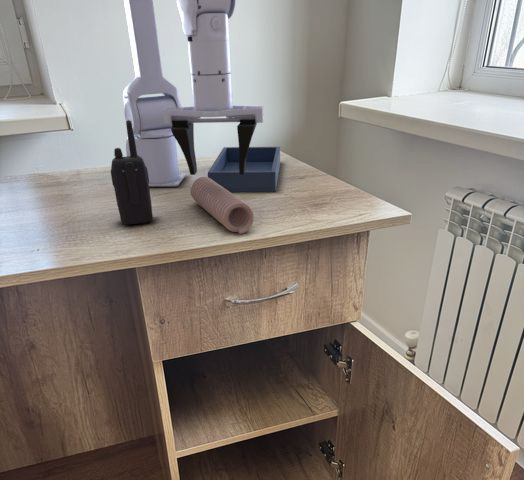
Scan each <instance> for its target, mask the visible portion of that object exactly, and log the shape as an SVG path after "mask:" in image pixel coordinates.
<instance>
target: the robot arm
mask: <svg viewBox="0 0 524 480" xmlns="http://www.w3.org/2000/svg"><path fill="white" fill-rule="evenodd" d="M123 4H124V9H125V15H126V24H127V29H128V36H129V43H130V47H131V48H130V49H131V55H132V61H133V67H134V74H135V77H134V78H133V79H131V81H130V82H129V83H128V84H127V86H126V87H125V88H124V90H123V94H122V97H123V114H124V119H125V122H126V121H128V120H130V121H131V123H132V128H133V133H134V138H135V144H136V150H137V155H138V156H140V157H141V158H142V159H143V161H144V163H145V166H146V167H147V171H148V177H149V188H151V187H179V185H180V184H181V183H182V181H183V180H184V179H185V178H186V174H185V173H180V165H179V156H178V146H179V147H180V149H181V152H182V154H183V156H184V158H185V161H186V164H187V167H188V170H189V171H188V172H189V175H191V176H196V174H197V172H198V165H197V157H196V151H195V150H196V149H195V136H194V135H195V134H194V133H195V131H194V124H203V123H204V124H205V123H207V124H209V123H238V124H237V126H236V128H237V129H236V130H237V138H238V139H237V141H238V147H239V173H240V175H243V174H245V166H246V158H247V153H248V149H249V147H250V146H251V142H252V138H253V136H254V133H255V130H256V128H257V124H263V122H264V120H265V119H264V118H265V117H264V106H262V105H261V106H260V105H259V106H252V105H250V106H249V105H234V102H233V83H232V63H231V60H232V59H231V43H230V21H229V20H230V19H231V18H232V16H233V14H234V11H235V7H236V0H176V6H177V9H178V13H179V15H180V19H181V27H182V31H183V35H184V36H186V39H187V47H188V48H187V49H188V59H189V60H188V61H189V73H190V83H191V92H192V105H193V106H182V104H181V102H180V98H179V92H178V89H177V87H176V86H175V85H174V84H173V83H171V81H169V80H168V79H166V78H165V77H164V75H163V68H162V61H161V52H160V44H159V38H158V30H157V22H156V14H155V8H154V7H155V6H154V0H123ZM157 94H158V95H157ZM159 94H162V95H159ZM146 95H147V96H146ZM148 95H154V96H148ZM155 95H157V96H155ZM141 96H146V97H141ZM177 144H178V146H177ZM125 153H126V157H127V156H130V149H129V142H128V137H127V138H126V141H125Z"/></svg>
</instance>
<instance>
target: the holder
mask: <svg viewBox="0 0 524 480" xmlns="http://www.w3.org/2000/svg"><path fill="white" fill-rule="evenodd" d="M280 167H281V146H249V149H248V153H247V158H246V166H245V174H243V175H240V173H239V146H227V147H226V146H224V147H222V149H221V151H220V152H219V154H218V155H217V157H216V158H215V160H214V162H213V164H212V165H211V166H210V168H209V170H208V171H207V177H208V178H210V179H212V180H213V181H215V182H216V183H218V184H219V185H220V186H222V187H223V188H225V189H226V190H228V191H229V192H231V193H276V192H277V185H278V179H279V174H280Z"/></svg>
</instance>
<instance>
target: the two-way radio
mask: <svg viewBox="0 0 524 480" xmlns="http://www.w3.org/2000/svg"><path fill="white" fill-rule="evenodd" d="M125 125H126V134H127V138H128V142H129V149H130V156H127V155H126V156H124V155H123V151H122V148H120V147H116V148H114V150H113V151H114V154H113V156H114V157H113V159H112V160H111V165H110V166H111V168H110V175H111V177H110V178H111V183H112V187H113V189H114V194H115V200H116V205H117V209H118V213H119V218H120V219H119V220H120V222H121V224H123V225H126V226H129V225H137V224H145V223H150V222H151V221H153V218H154V215H153V205H152V196H151V191H150V187H149V177H148V171H147V167H146V166H145V163H144V161H143V159H142V158H141V157H140V156H138V155H137V150H136V144H135V138H134V136H135V135H134V133H133V128H132V123H131V121H130V120H128V121H126V120H125Z"/></svg>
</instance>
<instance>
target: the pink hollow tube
mask: <svg viewBox="0 0 524 480" xmlns="http://www.w3.org/2000/svg"><path fill="white" fill-rule="evenodd" d="M190 196H191V198H192V199H193V201H194V202H195V203H196V204H198V205H199V206H200V207H201V208H202V209H204V210H205V211H206V212H207V213H208V214H209V215H211V216H212V217H213V218H214V219H215V220H216V221H218V222H219V224H221V225H222V226H224V228H226V229H227V230H228V231H229V232H232V233H238V234H239V235H241V234H245V233H246V232H247V231H249V230H250V229H251V227H252V226H253V223H254V220H255V214H254V210H253V208H252V207H251V205H250V204H248V203H246V202H245V201H244V200H242V199H241V198H240V197H238V196H237V195H235V194H234V193H233V192H229V191H228V190H226V189H225V188H223V187H222V186H220V185H219V184H218V183H216V182H215V181H213V180H212V179H210V178H208V176H201V177H198V178H196V179H194V181H193V182H192V184H191V186H190Z"/></svg>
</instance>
